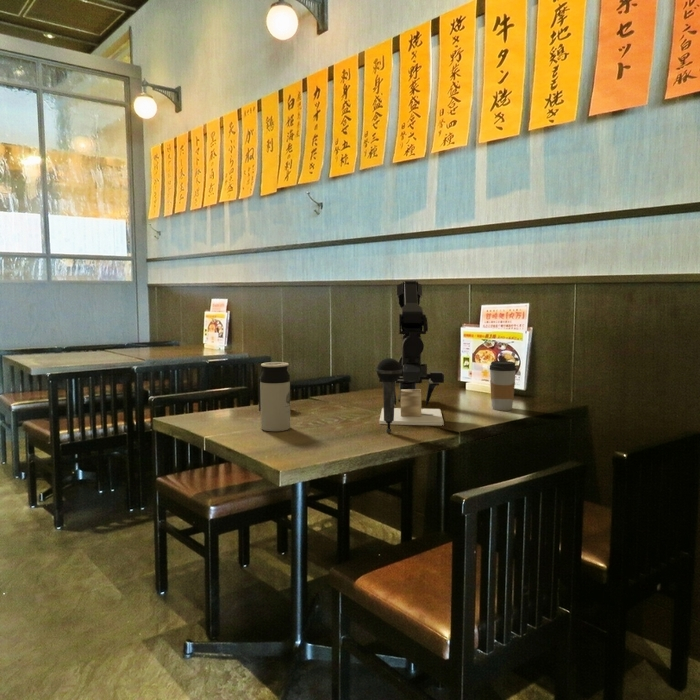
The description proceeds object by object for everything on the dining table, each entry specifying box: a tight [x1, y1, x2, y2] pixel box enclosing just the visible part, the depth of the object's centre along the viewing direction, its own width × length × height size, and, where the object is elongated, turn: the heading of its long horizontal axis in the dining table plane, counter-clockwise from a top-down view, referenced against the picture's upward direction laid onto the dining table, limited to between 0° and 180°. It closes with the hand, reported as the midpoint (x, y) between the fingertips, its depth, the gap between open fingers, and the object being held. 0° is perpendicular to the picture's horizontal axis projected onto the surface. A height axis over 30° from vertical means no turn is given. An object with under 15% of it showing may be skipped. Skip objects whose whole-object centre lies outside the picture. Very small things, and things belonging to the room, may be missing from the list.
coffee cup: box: [489, 360, 517, 412], centre depth 182 cm, size 8×8×15 cm
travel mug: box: [259, 361, 291, 433], centre depth 156 cm, size 8×8×18 cm
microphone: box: [375, 357, 402, 434], centre depth 151 cm, size 7×7×20 cm
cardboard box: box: [400, 388, 422, 417], centre depth 170 cm, size 6×6×7 cm
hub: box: [378, 407, 445, 426], centre depth 170 cm, size 18×18×6 cm
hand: (411, 405), depth 170 cm, fingers open, 9 cm apart
